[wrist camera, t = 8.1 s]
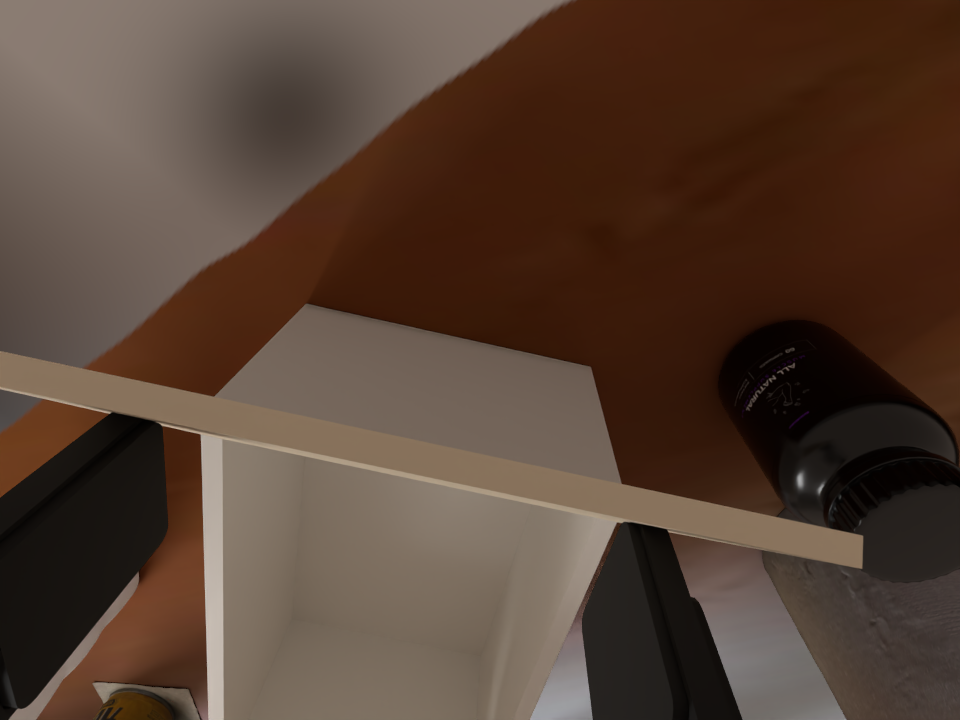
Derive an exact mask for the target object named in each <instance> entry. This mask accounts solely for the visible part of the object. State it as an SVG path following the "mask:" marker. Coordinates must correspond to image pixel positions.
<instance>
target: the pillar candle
mask: <svg viewBox="0 0 960 720" xmlns="http://www.w3.org/2000/svg"><path fill="white" fill-rule="evenodd" d="M778 518H783V519H787V520H792V521H797V522H801V523H803V522H802V521H800V520H799V519H797V518H796V517H795V516H794V515H793V514H792V513H790V512H789V510H788V509H787V508H785V509H784V510H783V511H782V512H781V513H780V514H779V516H778ZM762 557H763V563H764V567H765V570H766V571H767V573H768V574H769V576H770V578H771V580H772V582H773V584H774V586H775V588H776V590H777V592H778V594H779V596H780V597H781V599H782V601H783V603H784V605H785V607H786V609H787V611H788V612H789V614H790V616H791V618H792V620H793V621H794V623H795V625H796V627H797V629H798V631H799V633H800V635H801V637H802V638H803V640H804V642H805V644H806V646H807V648H808V649H809V651H810V653H811V655H812V657H813V659H814V660H815V662H816V664H817V666H818V667H819V669H820V671H821V672H822V674H823V676H824V678H825V680H826V682H827V684H828V685H829V687H830V689H831V691H832V692H833V694H834V696H835V698H836V700H837V702H838V704H839V706H840V708H841V710H842V712H843V714H844V715H845V717H846V719H847V720H960V569H958V570H955V571H953V572H951V573H950V574H948V575H944V576H940V577H938V578H936V579H932V580H925V581H922V582H910V583H902V582H897V583H892V582H890V581H881V580H879V579H878V578H875V577H870V576H869V575H868V574H867V573H865V572H862V571H861V570H860V569H859V568H854V567H849V566H844V565H839V564H833V563H828V562H823V561H818V560H812V559H807V558H802V557H797V556H792V555H786V554H781V553H776V552H771V551H765V550H763V556H762Z"/></svg>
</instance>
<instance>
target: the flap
mask: <svg viewBox="0 0 960 720" xmlns="http://www.w3.org/2000/svg"><path fill="white" fill-rule="evenodd" d="M0 389H3V390H7V391H12V392H16V393H21V394H25V395H30V396H34V397H38V398H42V399H47V400H51V401H56V402H60V403H65V404H69V405H73V406H78V407H82V408H87V409H91V410H95V411H100V412H104V413H109V414H110V413H111V412H114V413H118V414H123V415H128V416H133V417H137V418H142V419H146V420H150V421H155V422H156V423H159V424H161V425H162V426H166V427H170V428H175V429H179V430H184V431H188V432H192V433H197V434H201V435H206V436H211V437H216V438H220V439H225V440H230V441H234V442H239V443H244V444H249V445H253V446H258V447H263V448H268V449H272V450H277V451H282V452H287V453H291V454H296V455H301V456H306V457H310V458H315V459H320V460H325V461H329V462H334V463H339V464H344V465H348V466H353V467H358V468H363V469H367V470H372V471H377V472H381V473H386V474H391V475H396V476H400V477H405V478H410V479H415V480H419V481H424V482H429V483H434V484H438V485H443V486H448V487H453V488H457V489H462V490H467V491H472V492H476V493H481V494H486V495H491V496H495V497H500V498H505V499H510V500H514V501H519V502H524V503H528V504H533V505H538V506H543V507H547V508H552V509H557V510H562V511H566V512H571V513H576V514H581V515H585V516H590V517H595V518H600V519H604V520H609V521H614V522H619V523H623V522H629V523H630V522H634V523H639V524H644V525H649V526H654V527H658V528H663V529H667V530H668V532H671V533H676V534H682V535H687V536H692V537H697V538H703V539H708V540H713V541H718V542H724V543H729V544H734V545H739V546H744V547H750V548H755V549H760V550H765V551H771V552H776V553H781V554H786V555H792V556H797V557H802V558H807V559H812V560H818V561H823V562H828V563H833V564H839V565H844V566H849V567H854V568H860V569H862V561H863V536H862V535H858V534H853V533H848V532H844V531H839V530H834V529H830V528H825V527H820V526H816V525H811V524H806V523H801V522H797V521H792V520H787V519H783V518H778V517H773V516H769V515H764V514H759V513H755V512H750V511H745V510H741V509H736V508H731V507H727V506H722V505H717V504H713V503H708V502H703V501H699V500H694V499H689V498H685V497H680V496H675V495H671V494H666V493H661V492H657V491H652V490H647V489H643V488H638V487H633V486H628V485H624V484H619V483H614V482H610V481H605V480H600V479H596V478H591V477H586V476H582V475H577V474H572V473H568V472H563V471H558V470H554V469H549V468H544V467H540V466H535V465H530V464H526V463H521V462H516V461H512V460H507V459H502V458H498V457H493V456H488V455H484V454H479V453H474V452H469V451H465V450H460V449H455V448H451V447H446V446H441V445H437V444H432V443H427V442H423V441H418V440H413V439H409V438H404V437H399V436H395V435H390V434H385V433H381V432H376V431H371V430H367V429H362V428H357V427H353V426H348V425H343V424H339V423H334V422H329V421H325V420H320V419H315V418H311V417H306V416H301V415H296V414H292V413H287V412H282V411H278V410H273V409H268V408H264V407H259V406H254V405H250V404H245V403H240V402H236V401H231V400H226V399H222V398H217V397H212V396H208V395H203V394H198V393H194V392H189V391H184V390H180V389H175V388H170V387H166V386H161V385H156V384H152V383H147V382H142V381H138V380H133V379H128V378H123V377H119V376H114V375H109V374H105V373H100V372H95V371H91V370H86V369H81V368H77V367H72V366H67V365H63V364H58V363H53V362H49V361H44V360H39V359H34V358H30V357H25V356H20V355H16V354H11V353H6V352H2V351H0Z"/></svg>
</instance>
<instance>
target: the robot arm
mask: <svg viewBox="0 0 960 720" xmlns="http://www.w3.org/2000/svg"><path fill="white" fill-rule="evenodd" d="M167 529H168V513H167V495H166V478H165V461H164V444H163V429H162V426H161V424H159V423H156V422H155V421H150V420H146V419H142V418H137V417H133V416H128V415H123V414H118V413H114V412H111V413H110V414H109V415H108V416H106V417H105V418H104V419H102V420H101V421H100V422H98V423H97V424H96V425H94V426H93V427H92V428H91V429H89V430H88V431H87V432H85V433H84V434H83V435H81V436H80V437H79V438H78V439H76V440H75V441H74V442H72V443H71V444H70V445H68V446H67V447H66V448H64V449H63V450H62V451H61V452H59V453H58V454H57V455H55V456H54V457H53V458H51V459H50V460H49V461H47V462H46V463H45V464H44V465H42V466H41V467H40V468H38V469H37V470H36V471H34V472H33V473H32V474H31V475H29V476H28V477H27V478H25V479H24V480H23V481H21V482H20V483H19V484H17V485H16V486H15V487H14V488H12V489H11V490H10V491H8V492H7V493H6V494H4V495H3V496H2V497H0V720H9V718H10V717H11V716H12V715H13V714H14V712H15V711H16V710H17V709H24V708H26V707H27V706H29V705H30V704H31V703H32V702H33V701H34V700H35V699H36V698H37V697H38V695H39V694H40V693H41V692H42V690H43V689H44V688H45V687H46V685H47V684H48V683H49V682H50V680H51V679H52V678H53V677H54V675H55V674H56V673H57V672H58V671H59V669H60V668H61V667H62V666H63V664H64V663H65V662H66V661H67V659H68V658H69V657H70V656H71V654H72V653H73V652H74V651H75V649H76V648H77V647H78V646H79V644H80V643H81V642H82V641H83V640H84V638H85V637H86V636H87V635H88V633H89V632H90V631H91V630H92V628H93V627H94V626H95V625H96V623H97V622H98V621H99V620H100V618H101V617H102V616H103V615H104V614H105V612H106V611H107V610H108V609H109V607H110V606H111V605H112V604H113V602H114V601H115V600H116V599H117V597H118V596H119V595H120V594H121V592H122V591H123V590H124V589H125V587H126V586H127V585H128V584H129V583H130V581H131V580H132V579H133V578H134V576H135V575H136V574H137V573H138V571H139V570H140V569H141V568H142V566H143V565H144V564H145V563H146V561H147V560H148V559H149V558H150V557H151V555H152V554H153V553H154V552H155V550H156V549H157V548H158V547H159V545H160V544H161V543H162V541H163V539H164V537H165V535H166V533H167ZM582 633H583V641H584V649H585V658H586V666H587V674H588V683H589V691H590V699H591V707H592V716H593V720H742V717H741V714H740V712H739V709H738V706H737V703H736V701H735V698H734V695H733V692H732V690H731V687H730V684H729V681H728V678H727V676H726V673H725V670H724V667H723V665H722V662H721V659H720V656H719V654H718V651H717V648H716V645H715V643H714V640H713V637H712V634H711V632H710V629H709V626H708V623H707V620H706V618H705V615H704V612H703V610H702V608H701V606H700V604H699V602H698V601H697V600H696V599H695V598H693V597H690V594H689V591H688V588H687V585H686V582H685V579H684V577H683V574H682V571H681V568H680V565H679V562H678V559H677V556H676V554H675V551H674V548H673V545H672V542H671V539H670V536H669V533H668V530H667V529H663V528H658V527H654V526H649V525H644V524H639V523H634V522H630V523H629V522H623V523H622V524H621V526H620V528H619V531H618V533H617V535H616V538H615V540H614V542H613V545H612V547H611V549H610V552H609V554H608V556H607V559H606V561H605V563H604V565H603V568H602V570H601V572H600V575H599V577H598V579H597V582H596V584H595V586H594V589H593V591H592V593H591V596H590V598H589V600H588V603H587V605H586V607H585V610H584V613H583V618H582Z"/></svg>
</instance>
